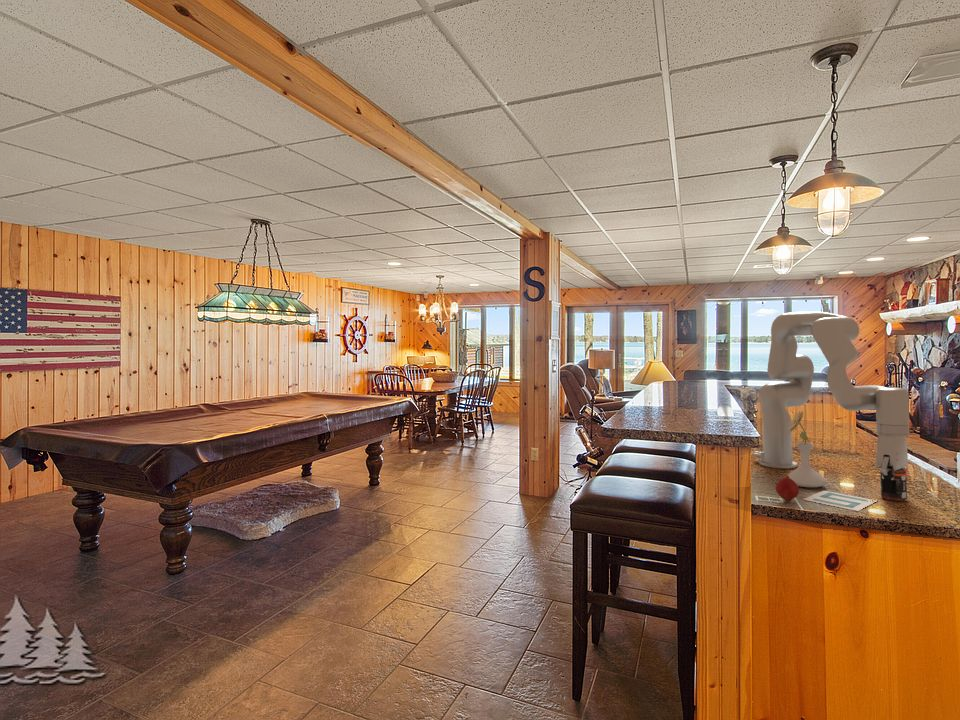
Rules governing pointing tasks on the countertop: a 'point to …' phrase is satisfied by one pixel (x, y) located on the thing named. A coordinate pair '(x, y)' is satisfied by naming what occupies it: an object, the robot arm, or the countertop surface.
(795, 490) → the onion
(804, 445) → the flower in vase
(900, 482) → the supplement bottle
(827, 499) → the letter board
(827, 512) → the countertop surface
